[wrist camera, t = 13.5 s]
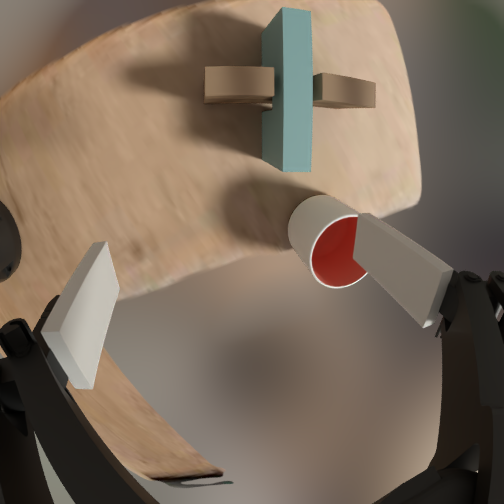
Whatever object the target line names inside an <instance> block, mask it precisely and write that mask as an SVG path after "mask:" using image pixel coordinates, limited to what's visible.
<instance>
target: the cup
mask: <svg viewBox="0 0 504 504" xmlns="http://www.w3.org/2000/svg"><path fill="white" fill-rule="evenodd" d="M358 214H361V213H359V212H358V211H356V210H355V209H353V208H351V207H350V206H348V205H347V204H345V203H343V202H342V201H340V200H339V199H337V198H335V197H332V196H329V195H317V196H313V197H310V198H308V199H306V200H304V201H303V202H302V203H300V204H299V205H298V206H297V208H296V209H295V210H294V212H293V213H292V215H291V217H290V220H289V224H288V237H289V241H290V244H291V246H292V247H293V249H294V250H295V251H296V253H297V254H298V256H299V257H300V258H301V260H302V261H303V263H304V264H305V265H306V267H307V268H308V270H309V271H310V272H311V274H312V275H313V277H314V278H315V279H316V280H317V281H318V282H319V283H320V284H322V285H324V286H326V287H330V288H343V287H347V286H350V285H352V284H354V283H356V282H358V281H359V280H360V279H362V278H363V277H364V276H365V275H366V274H367V273H368V272H367V271H365V270H364V269H363V268H362V267H361V266H360V265H359V264H358V263H357V262H356V261H355V260H354V259H353V252H354V245H355V237H356V229H357V220H358Z"/></svg>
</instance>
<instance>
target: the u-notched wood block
mask: <svg viewBox="0 0 504 504" xmlns="http://www.w3.org/2000/svg"><path fill="white" fill-rule="evenodd" d="M273 96H274V67H255V66H210V67H205V74H204V104H220V103H267V104H272V97H273ZM375 99H376V83H374V82H370V81H366V80H361V79H356V78H351V77H346V76H340V75H335V74H328V73H320V74H317V75H314V76H313V106H315V107H325V108H334V109H341V108H375Z"/></svg>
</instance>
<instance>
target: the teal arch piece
mask: <svg viewBox="0 0 504 504" xmlns="http://www.w3.org/2000/svg"><path fill="white" fill-rule="evenodd" d="M262 67H274V96H273V97H272V110H270V111H264V112H262V160H263V161H265V162H267V163H269V164H270V165H272V166H274V167H275V168H277V169H279V170H280V171H282V172H311V155H312V116H313V66H312V30H311V11H306V10H300V9H293V8H286V7H282V8H281V9H280V11H279V12H278V13H277V14H276V16H275V17H274V18H273V19H272V21H271V22H270V23H269V24H268V26H267V27H266V28H265V30H264V31H263V32H262Z"/></svg>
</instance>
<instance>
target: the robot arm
mask: <svg viewBox="0 0 504 504" xmlns="http://www.w3.org/2000/svg"><path fill="white" fill-rule="evenodd" d="M20 259H21V240H20V235H19V231H18V228H17V225H16V223H15V220H14V218H13V216H12V215H11V213H10V211H9V210H8V209H7V207H6V206H5V205H4V204H3V203H2V202H1V201H0V283H1V282H3V281H5V280H7V279H8V278H9V277H10V276H11V275H12V274H13V273H14V272H15V271H16V269H17V268H18V266H19V263H20ZM353 259H354V260H355V261H356V262H357V263H358V264H359V265H360V266H361V267H362V268H363V269H364V270H365V271H367V272H368V273H369V274H370V275H371V276H372V277H373V278H374V279H375V280H376V281H377V282H378V283H379V284H380V285H381V286H382V287H383V288H384V289H385V290H386V291H387V292H388V293H389V294H390V295H391V296H392V297H393V298H394V299H395V300H396V301H397V302H398V303H399V304H400V305H401V306H402V307H403V308H404V309H405V310H406V311H407V312H408V313H409V314H410V315H411V316H412V317H413V318H414V319H415V320H416V321H417V322H418V323H419V324H420V325H421V327H423V328H424V327H427V326H429V325H432V324H434V323H435V320H436V318H437V315H438V313H439V312H440V313H441V314H442V315H443V318H442V320H441V323H440V325H439V328H438V330H437V332H436V335H435V337H437V336H438V334H439V333H440V332H441V336H440V338H442V401H441V415H440V426H439V435H438V442H437V449H436V453H435V455H434V457H433V459H432V460H431V462H430V464H429V466H428V468H427V469H426V470H425V471H423V472H422V473H420V474H418V475H417V476H415V477H413V478H412V479H410V480H408V481H406V482H405V483H403V484H401V485H400V486H398V487H397V488H396V489H394V490H393V491H391V492H390V493H388V494H387V495H385V496H384V497H382V498H381V499H379V500H377V501H376V502H374V503H372V504H504V313H503V315H502V317H501V319H500V321H499V322H498V321H497V319H496V318H497V316H498V314H499V312H500V310H501V308H503V310H504V273H503V272H501V271H492V272H491V273H490V275H489V278H488V281H483V280H482V279H481V278H480V277H479V276H478V275H476V274H475V273H473V272H469V271H461V272H459V273H457V272H456V271H455V270H454V269H453V268H451V267H450V266H449V265H447V264H446V263H444V262H443V261H442V260H440V259H439V258H437V257H436V256H435V255H433V254H432V253H430V252H429V251H427V250H426V249H424V248H423V247H422V246H420V245H419V244H417V243H416V242H414V241H413V240H411V239H410V238H408V237H407V236H405V235H404V234H402V233H400V232H399V231H397V230H396V229H394V228H393V227H391V226H390V225H388V224H386V223H385V222H383V221H382V220H380V219H378V218H377V217H375V216H373V215H372V214H370V213H362V214H358V220H357V229H356V237H355V245H354V252H353ZM119 290H120V288H119V284H118V281H117V278H116V274H115V271H114V267H113V263H112V259H111V256H110V252H109V248H108V244H107V241H103V242H97V243H93V244H92V246H91V247H90V249H89V250H88V252H87V253H86V255H85V256H84V258H83V259H82V261H81V262H80V264H79V265H78V267H77V268H76V270H75V272H74V273H73V275H72V276H71V278H70V280H69V281H68V283H67V285H66V286H65V288H64V290H63V291H62V293H61V295H56V296H55V297H54V298H53V299H52V300H51V301H50V302H49V303H48V305H47V306H46V308H45V310H44V312H43V313H42V315H41V319H39V321H38V323H37V324H36V326H35V328H34V330H33V332H32V331H31V330H30V328H29V326H28V324H27V322H26V321H25V320H24V319H21V318H18V319H13V320H11V321H9V322H7V323H6V324H5V325H3V326H2V328H1V329H0V346H1V347H2V349H3V351H4V352H5V354H6V355H7V357H6V358H2V359H0V504H54V502H53V499H52V497H51V494H50V491H49V488H48V485H47V482H46V478H45V476H44V472H43V468H42V465H41V461H40V457H39V453H38V448H37V444H36V439H35V434H36V436H37V438H38V440H39V442H40V444H41V446H42V448H43V450H44V452H45V454H46V456H47V458H48V460H49V462H50V463H51V465H52V467H53V469H54V470H55V472H56V474H57V476H58V477H59V479H60V481H61V482H62V484H63V486H64V487H65V489H66V490H67V492H68V493H69V495H70V496H71V498H72V499H73V501H74V502H75V504H160V503H159V502H157V501H156V500H155V499H154V498H153V497H152V496H151V495H150V494H149V493H148V492H147V491H146V490H145V489H144V488H143V487H142V486H141V485H140V484H139V483H138V482H137V481H136V479H135V478H133V476H132V475H131V474H130V473H129V472H128V471H127V470H126V468H125V467H124V466H123V465H122V464H121V463H120V462H119V460H118V459H117V458H116V457H115V456H114V454H113V453H112V452H111V451H110V449H109V448H108V447H107V446H106V444H105V443H104V442H103V440H102V439H101V438H100V436H99V435H98V434H97V432H96V431H95V430H94V428H93V427H92V426H91V424H90V423H89V421H88V420H87V418H86V417H85V415H84V414H83V412H82V411H81V409H80V408H79V406H78V405H77V403H76V402H75V400H74V398H73V397H72V395H71V393H70V392H69V390H68V389H67V388H66V385H67V381H68V379H69V380H70V382H71V383H72V385H73V386H74V388H75V389H93V385H94V381H95V376H96V372H97V367H98V363H99V359H100V355H101V351H102V347H103V343H104V340H105V336H106V332H107V329H108V325H109V322H110V318H111V315H112V312H113V309H114V305H115V302H116V299H117V296H118V293H119ZM34 431H35V434H34ZM477 470H478V473H477V472H476V471H477Z"/></svg>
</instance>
